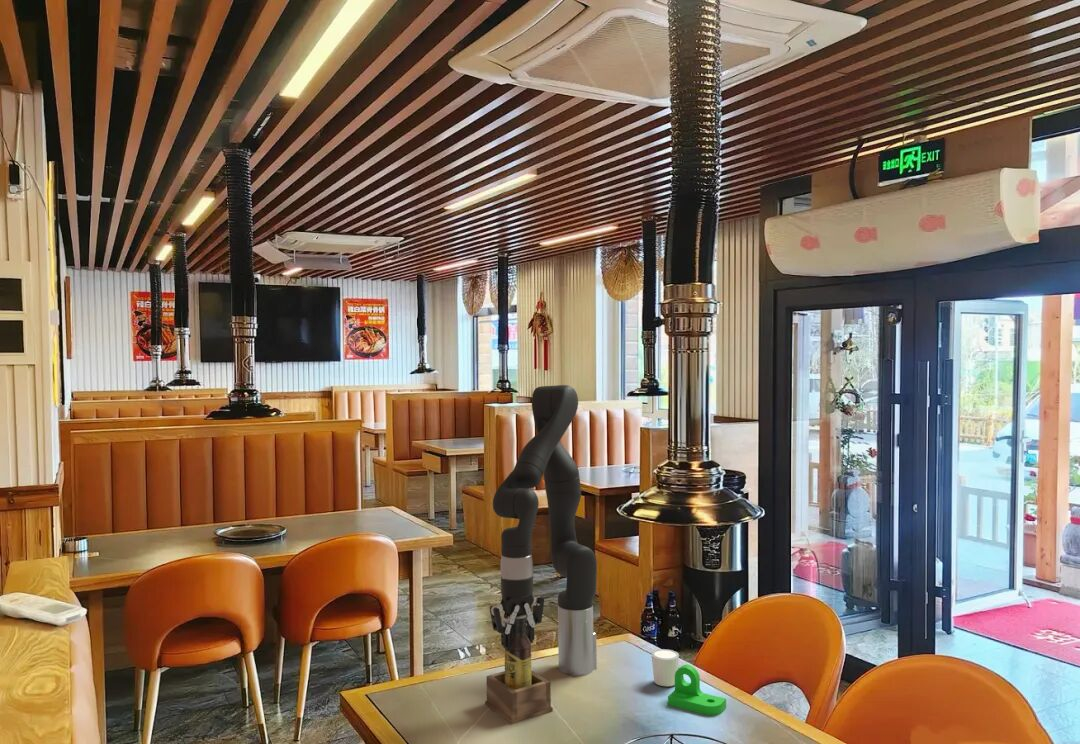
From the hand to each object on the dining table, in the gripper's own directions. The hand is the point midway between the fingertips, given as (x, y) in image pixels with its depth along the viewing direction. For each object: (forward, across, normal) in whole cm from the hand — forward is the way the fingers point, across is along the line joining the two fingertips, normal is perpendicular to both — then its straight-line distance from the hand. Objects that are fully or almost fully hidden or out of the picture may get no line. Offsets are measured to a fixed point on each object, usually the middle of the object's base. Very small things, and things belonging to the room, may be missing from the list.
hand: (517, 645), depth 181 cm
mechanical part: (+15, -35, +23) cm, 44 cm away
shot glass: (+15, -38, +9) cm, 42 cm away
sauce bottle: (+13, 0, 0) cm, 13 cm away
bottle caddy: (+15, 0, 0) cm, 15 cm away
